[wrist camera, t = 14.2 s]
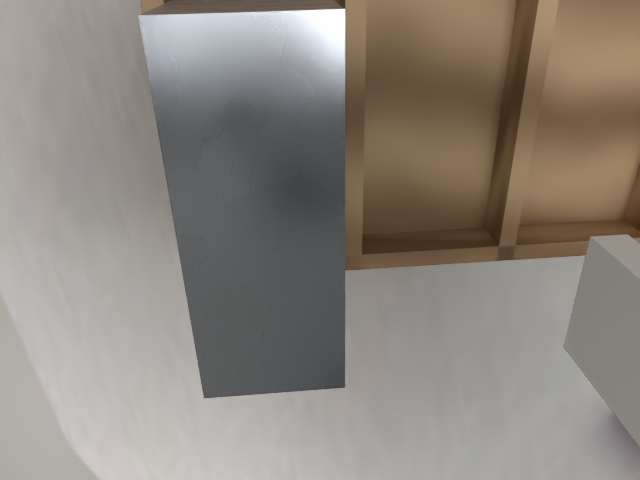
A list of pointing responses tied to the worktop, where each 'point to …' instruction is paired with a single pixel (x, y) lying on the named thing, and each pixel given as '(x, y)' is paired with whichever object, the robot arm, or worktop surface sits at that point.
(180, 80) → the panel
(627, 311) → the robot arm
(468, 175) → the bay rack
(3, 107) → the worktop surface
